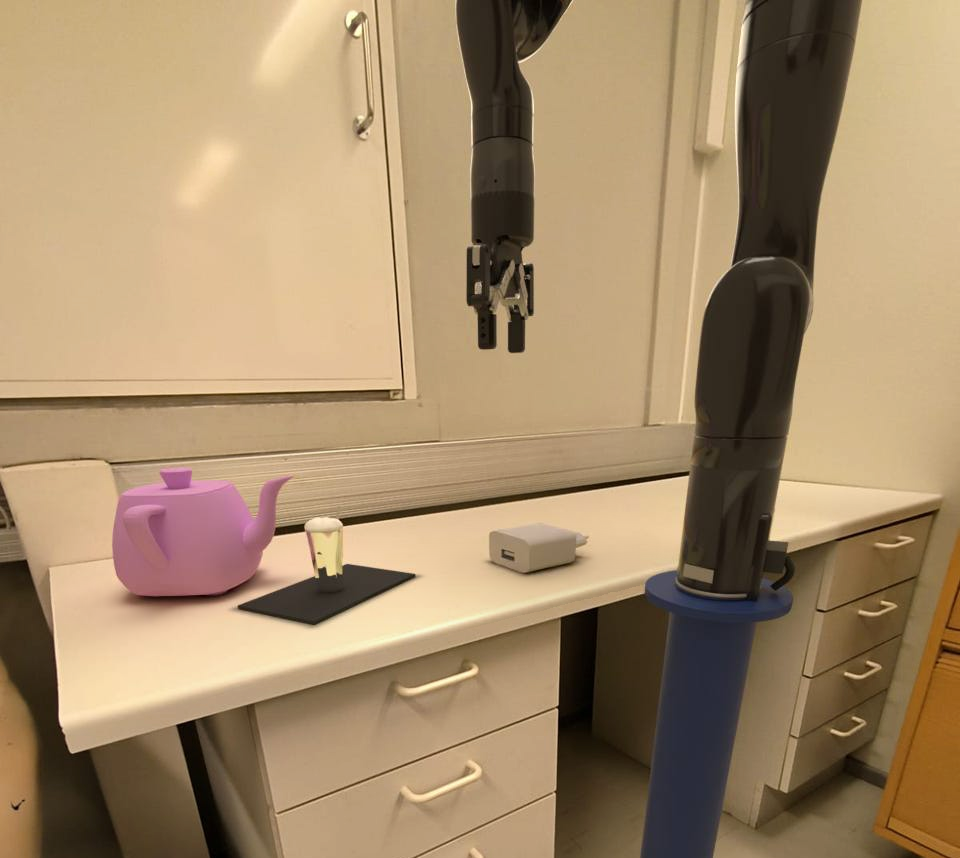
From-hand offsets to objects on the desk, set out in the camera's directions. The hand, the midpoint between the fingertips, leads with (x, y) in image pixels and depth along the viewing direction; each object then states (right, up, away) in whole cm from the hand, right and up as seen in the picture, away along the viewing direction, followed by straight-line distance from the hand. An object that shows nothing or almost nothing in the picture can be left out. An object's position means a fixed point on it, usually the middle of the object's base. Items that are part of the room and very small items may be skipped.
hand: (502, 351), depth 75 cm
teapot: (-40, -30, +4) cm, 50 cm away
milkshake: (-22, -31, 0) cm, 37 cm away
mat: (-22, -31, 0) cm, 38 cm away
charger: (+7, -25, +13) cm, 29 cm away
